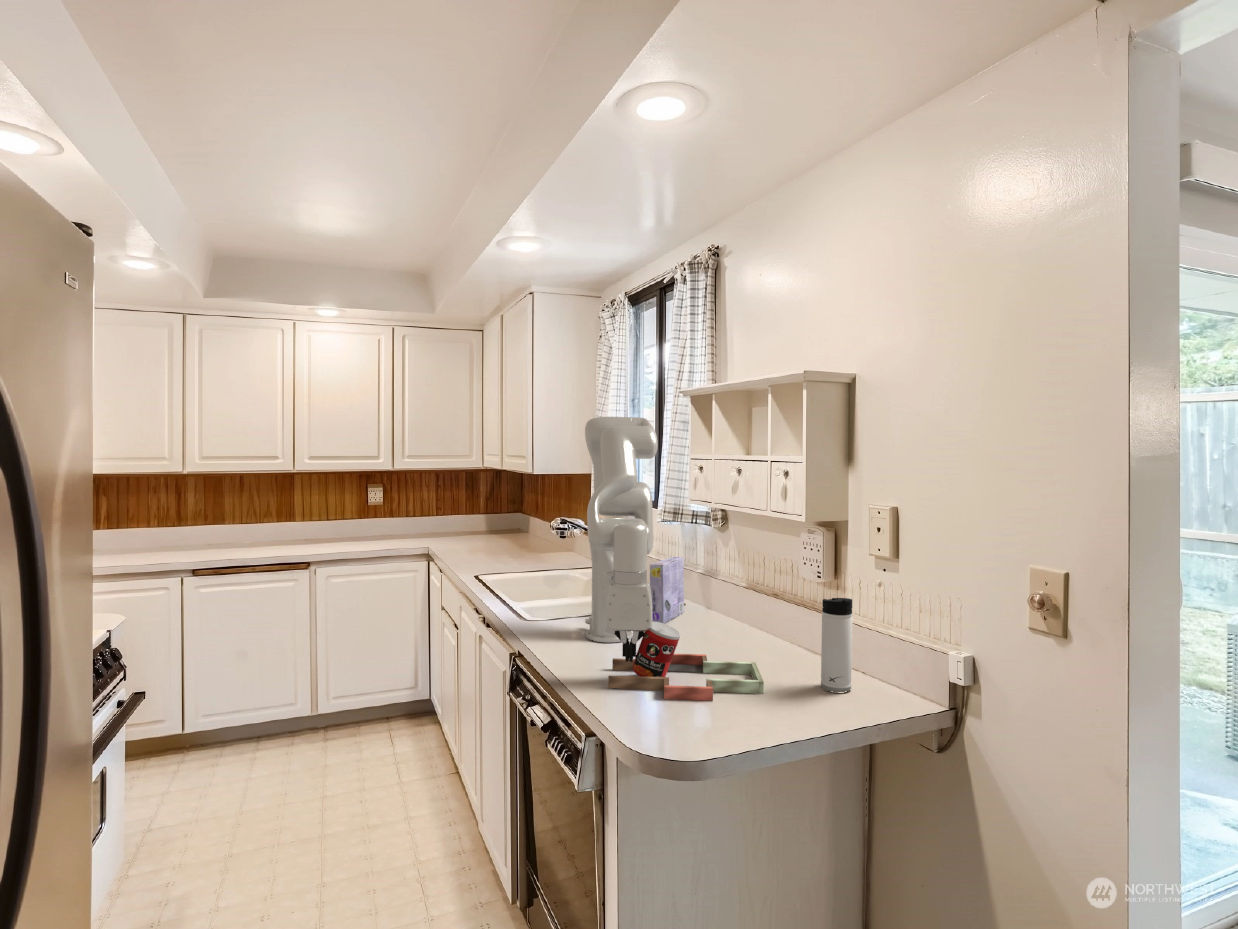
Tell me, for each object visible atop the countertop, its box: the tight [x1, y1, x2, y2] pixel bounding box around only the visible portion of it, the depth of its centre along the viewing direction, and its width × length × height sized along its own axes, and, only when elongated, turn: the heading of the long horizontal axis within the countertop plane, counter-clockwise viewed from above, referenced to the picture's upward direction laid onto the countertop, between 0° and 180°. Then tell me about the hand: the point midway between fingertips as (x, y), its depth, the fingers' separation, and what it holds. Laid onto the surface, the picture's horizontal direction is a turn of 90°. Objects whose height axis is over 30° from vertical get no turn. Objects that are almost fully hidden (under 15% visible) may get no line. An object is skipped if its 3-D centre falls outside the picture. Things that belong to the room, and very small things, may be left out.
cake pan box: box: [649, 556, 685, 624], centre depth 207 cm, size 19×5×18 cm, turn 155°
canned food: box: [632, 621, 681, 677], centre depth 151 cm, size 8×8×11 cm
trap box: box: [607, 653, 765, 702], centre depth 151 cm, size 33×23×2 cm
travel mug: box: [820, 597, 853, 692], centre depth 146 cm, size 6×7×20 cm
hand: (629, 659), depth 151 cm, fingers closed
